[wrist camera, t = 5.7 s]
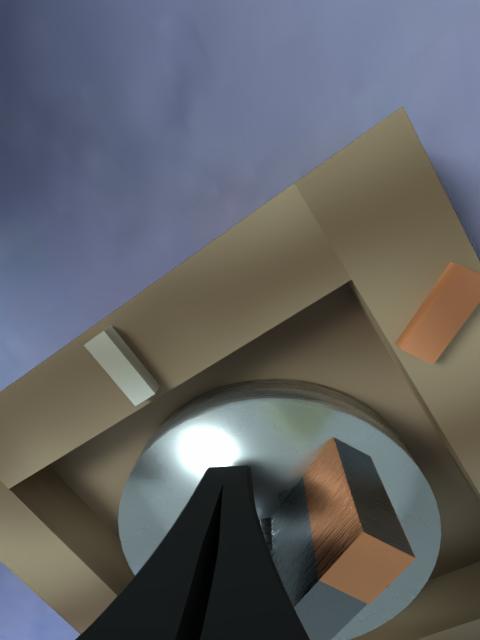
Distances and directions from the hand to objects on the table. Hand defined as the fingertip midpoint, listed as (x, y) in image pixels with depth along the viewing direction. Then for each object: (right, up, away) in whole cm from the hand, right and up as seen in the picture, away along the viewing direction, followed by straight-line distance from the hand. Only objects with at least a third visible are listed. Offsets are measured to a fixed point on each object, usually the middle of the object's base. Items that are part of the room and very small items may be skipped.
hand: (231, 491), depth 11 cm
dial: (+2, -2, +3) cm, 4 cm away
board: (+2, -2, +4) cm, 5 cm away
